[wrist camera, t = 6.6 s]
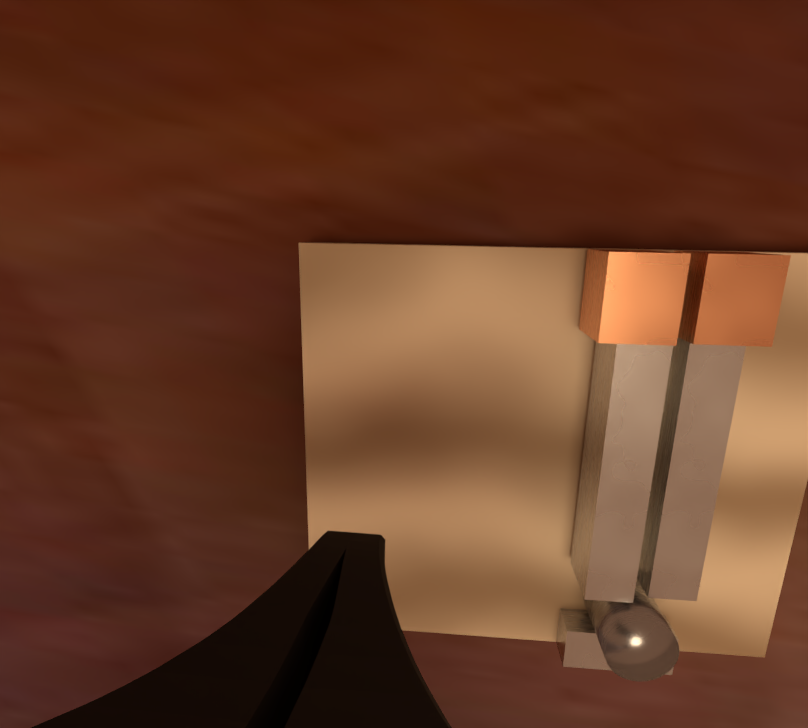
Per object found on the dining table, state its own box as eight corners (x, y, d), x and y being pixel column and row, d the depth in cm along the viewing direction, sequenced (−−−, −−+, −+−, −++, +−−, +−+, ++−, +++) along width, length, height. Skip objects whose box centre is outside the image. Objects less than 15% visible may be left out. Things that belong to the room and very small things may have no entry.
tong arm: (613, 565, 19) (635, 607, 17) (553, 561, 19) (567, 602, 17) (658, 250, 16) (690, 253, 14) (587, 249, 16) (608, 251, 14)
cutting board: (746, 633, 21) (764, 657, 20) (318, 603, 22) (311, 623, 21) (833, 253, 17) (861, 254, 16) (307, 242, 18) (298, 242, 17)
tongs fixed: (671, 650, 20) (707, 715, 17) (555, 641, 20) (573, 704, 18) (745, 252, 16) (805, 256, 13) (601, 249, 16) (631, 252, 14)
